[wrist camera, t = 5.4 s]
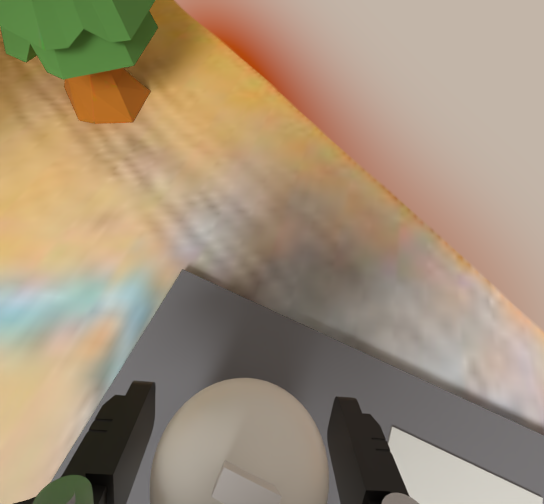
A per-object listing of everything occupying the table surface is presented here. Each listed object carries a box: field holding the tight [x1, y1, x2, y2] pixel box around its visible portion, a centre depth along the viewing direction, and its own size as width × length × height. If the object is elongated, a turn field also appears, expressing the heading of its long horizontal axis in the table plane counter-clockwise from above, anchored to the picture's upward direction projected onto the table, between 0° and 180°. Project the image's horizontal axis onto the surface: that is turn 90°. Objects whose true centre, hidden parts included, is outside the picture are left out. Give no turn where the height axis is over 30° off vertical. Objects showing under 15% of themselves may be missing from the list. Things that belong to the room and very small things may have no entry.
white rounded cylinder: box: [150, 378, 329, 504], centre depth 11 cm, size 5×5×12 cm
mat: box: [51, 270, 544, 504], centre depth 16 cm, size 24×14×1 cm, turn 66°
